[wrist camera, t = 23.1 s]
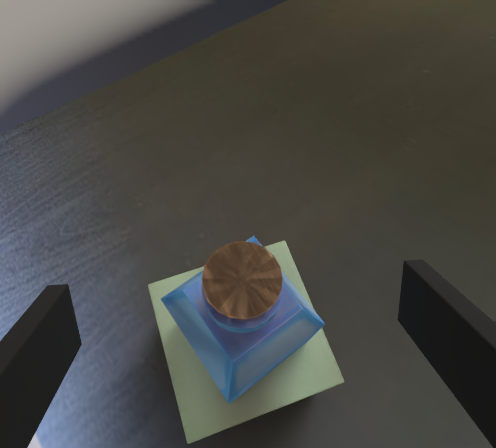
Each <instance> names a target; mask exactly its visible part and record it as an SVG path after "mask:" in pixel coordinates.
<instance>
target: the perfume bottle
mask: <svg viewBox="0 0 496 448" xmlns="http://www.w3.org/2000/svg"><path fill="white" fill-rule="evenodd" d="M161 301H162V302H163V304H164V305H165V307H166V308H167V310H168V311H169V313H170V314H171V316H172V317H173V319H174V321H175V322H176V324H177V325H178V327H179V328H180V330H181V331H182V333H183V334H184V336H185V337H186V339H187V340H188V342H189V344H190V345H191V347H192V348H193V350H194V351H195V353H196V354H197V356H198V357H199V359H200V360H201V362H202V363H203V365H204V367H205V368H206V370H207V371H208V373H209V374H210V376H211V377H212V379H213V380H214V382H215V383H216V385H217V386H218V388H219V390H220V391H221V393H222V394H223V396H224V397H225V399H226V400H227V402H229V403H232V402H233V401H234V400H235V399H237V398H238V397H239V396H240V395H242V394H243V393H244V392H245V391H247V390H248V389H249V388H250V387H252V386H253V385H254V384H255V383H257V382H258V381H259V380H260V379H262V378H263V377H264V376H265V375H267V374H268V373H269V372H270V371H272V370H273V369H274V368H275V367H277V366H278V365H279V364H280V363H282V362H283V361H284V360H285V359H287V358H288V357H289V356H290V355H292V354H293V353H294V352H295V351H297V350H298V349H299V348H300V347H302V346H303V345H304V344H305V343H307V342H308V341H309V340H310V339H311V338H312V337H313V336H314V335H315V334H316V333H317V332H318V331H319V330H320V329H321V328H322V327H323V326H324V325H325V323H324V322H323V321H322V320H321V318H320V317H319V316H318V315H317V313H316V312H315V311H314V310H313V308H312V307H311V306H310V305H309V304H308V302H307V301H306V300H305V299H304V297H303V296H302V295H301V294H300V292H299V291H298V290H297V289H296V287H295V286H294V285H293V284H292V282H291V281H290V280H289V279H288V277H287V276H286V275H285V274H284V273H283V271H282V270H281V267H280V265H279V263H278V262H277V260H276V258H275V256H274V255H273V254H272V253H270V252H269V251H268V250H267V249H266V248H265V247H263V246H262V245H261V244H260V243H259V242H258V240H257V239H256V238H255V237H254V236H253V237H251V238H250V239H248V240H247V241H239V242H232V243H229V244H227V245H224V246H222V247H220V248H219V249H218V250H216V251H215V252H214V253H213V254H212V255H211V256H210V257H209V259H208V261H207V263H206V264H205V266H204V270H202V271H201V272H199V273H198V274H196V275H195V276H193V277H192V278H191V279H189V280H188V281H186V282H185V283H183V284H182V285H180V286H179V287H177V288H176V289H174V290H173V291H171V292H170V293H168V294H167V295H165V296H164V297H162V298H161Z"/></svg>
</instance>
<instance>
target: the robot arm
mask: <svg viewBox="0 0 496 448" xmlns="http://www.w3.org/2000/svg"><path fill="white" fill-rule="evenodd" d="M398 321H399V322H400V324H401V325H402V326H403V328H404V329H405V330H406V332H407V333H408V334H409V336H410V337H411V338H412V340H413V341H414V342H415V344H416V345H417V346H418V348H419V349H420V350H421V352H422V353H423V354H424V356H425V357H426V358H427V360H428V361H429V362H430V364H431V365H432V366H433V368H434V369H435V370H436V372H437V373H438V374H439V376H440V377H441V378H442V380H443V381H444V382H445V384H446V385H447V386H448V388H449V389H450V390H451V392H452V393H453V394H454V396H455V397H456V398H457V400H458V401H459V402H460V404H461V405H462V406H463V408H464V409H465V410H466V412H467V413H468V414H469V416H470V417H471V418H472V420H473V421H474V422H475V424H476V425H477V426H478V428H479V429H480V430H481V432H482V433H483V434H484V436H485V437H486V438H487V440H488V441H489V442H490V444H491V445H492V446H493V448H496V322H494V321H492V320H491V319H490V318H489V317H488V316H487V315H486V314H484V313H483V312H482V311H481V310H480V309H479V308H478V307H476V306H475V305H474V304H473V303H472V302H471V301H469V300H468V299H467V298H466V297H465V296H464V295H463V294H461V293H460V292H459V291H458V290H457V289H456V288H455V287H453V286H452V285H451V284H450V283H449V282H448V281H447V280H445V279H444V278H443V277H442V276H441V275H440V274H439V273H437V272H436V271H435V270H434V269H433V268H432V267H431V266H429V265H428V264H427V263H426V262H425V261H424V260H411V261H404V266H403V275H402V284H401V294H400V303H399V313H398ZM81 345H82V344H81V339H80V335H79V330H78V326H77V322H76V317H75V313H74V308H73V304H72V299H71V295H70V291H69V286H68V284H63V285H49V286H47V287H46V288H45V289H44V290H43V292H42V293H41V294H40V295H39V296H38V297H37V299H36V300H35V301H34V302H33V303H32V305H31V306H30V307H29V308H28V309H27V310H26V312H25V313H24V314H23V315H22V316H21V318H20V319H19V320H18V321H17V322H16V323H15V325H14V326H13V327H12V328H11V329H10V331H9V332H8V333H7V334H6V335H5V336H4V338H3V339H2V340H1V341H0V448H27V447H28V445H29V443H30V441H31V440H32V438H33V436H34V434H35V432H36V430H37V428H38V426H39V424H40V422H41V421H42V419H43V417H44V415H45V413H46V411H47V409H48V407H49V405H50V403H51V402H52V400H53V398H54V396H55V394H56V392H57V390H58V388H59V386H60V384H61V383H62V381H63V379H64V377H65V375H66V373H67V371H68V369H69V367H70V365H71V364H72V362H73V360H74V358H75V356H76V354H77V352H78V350H79V348H80V346H81Z"/></svg>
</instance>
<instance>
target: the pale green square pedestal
mask: <svg viewBox="0 0 496 448" xmlns="http://www.w3.org/2000/svg"><path fill="white" fill-rule="evenodd" d="M265 248H266V249H267V250H268V251H269V252H270V253H272V254H273V255H274V256H275V258H276V260H277V262H278V263H279V265H280V267H281V270H282V271H283V273H284V274H285V275H286V276H287V277H288V279H289V280H290V281H291V282H292V284H293V285H294V286H295V287H296V289H297V290H298V291H299V292H300V294H301V295H302V296H303V297H304V299H305V300H306V301H307V302H308V304H309V305H310V306H311V307H312V308H313V306H312V303H311V301H310V299H309V296H308V294H307V292H306V289H305V287H304V285H303V282H302V280H301V277H300V275H299V273H298V270H297V268H296V266H295V263H294V261H293V258H292V256H291V254H290V251H289V249H288V247H287V244H286V242H285V241H281V242H278V243H275V244H272V245H269V246H266V247H265ZM202 270H204V267H201V268H198V269H195V270H192V271H188V272H185V273H182V274H179V275H176V276H173V277H170V278H167V279H164V280H161V281H157V282H154V283H151V284H148V288H149V292H150V296H151V300H152V304H153V308H154V312H155V316H156V320H157V324H158V328H159V332H160V336H161V340H162V344H163V348H164V352H165V356H166V360H167V364H168V368H169V372H170V376H171V380H172V384H173V388H174V392H175V396H176V400H177V404H178V408H179V412H180V416H181V420H182V424H183V428H184V432H185V436H186V440H187V443H188V444H190V443H192V442H195V441H197V440H200V439H202V438H205V437H208V436H210V435H213V434H215V433H218V432H220V431H223V430H225V429H228V428H230V427H233V426H235V425H238V424H241V423H243V422H246V421H248V420H251V419H253V418H256V417H258V416H261V415H263V414H266V413H268V412H271V411H273V410H276V409H279V408H281V407H284V406H286V405H289V404H291V403H294V402H296V401H299V400H301V399H304V398H306V397H309V396H312V395H314V394H317V393H319V392H322V391H324V390H327V389H329V388H332V387H334V386H337V385H339V384H342V383H344V379H343V377H342V374H341V372H340V370H339V367H338V365H337V363H336V360H335V358H334V356H333V353H332V351H331V348H330V346H329V344H328V341H327V339H326V337H325V334H324V332H323V329H322V328H321V329H320V330H319V331H318V332H317V333H316V334H315V335H314V336H313V337H312V338H311V339H310V340H309V341H308V342H307V343H305V344H304V345H303V346H302V347H300V348H299V349H298V350H297V351H295V352H294V353H293V354H292V355H290V356H289V357H288V358H287V359H285V360H284V361H283V362H282V363H280V364H279V365H278V366H277V367H275V368H274V369H273V370H272V371H270V372H269V373H268V374H267V375H265V376H264V377H263V378H262V379H260V380H259V381H258V382H257V383H255V384H254V385H253V386H252V387H250V388H249V389H248V390H247V391H245V392H244V393H243V394H242V395H240V396H239V397H238V398H237V399H235V400H234V401H233V402H232V403H229V402H227V400H226V399H225V397H224V396H223V394H222V393H221V391H220V390H219V388H218V386H217V385H216V383H215V382H214V380H213V379H212V377H211V376H210V374H209V373H208V371H207V370H206V368H205V367H204V365H203V363H202V362H201V360H200V359H199V357H198V356H197V354H196V353H195V351H194V350H193V348H192V347H191V345H190V344H189V342H188V340H187V339H186V337H185V336H184V334H183V333H182V331H181V330H180V328H179V327H178V325H177V324H176V322H175V321H174V319H173V317H172V316H171V314H170V313H169V311H168V310H167V308H166V307H165V305H164V304H163V302H162V301H161V298H162V297H164V296H165V295H167V294H168V293H170V292H171V291H173V290H174V289H176V288H177V287H179V286H180V285H182V284H183V283H185V282H186V281H188V280H189V279H191V278H192V277H193V276H195V275H196V274H198V273H199V272H201V271H202ZM313 310H314V308H313Z"/></svg>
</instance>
